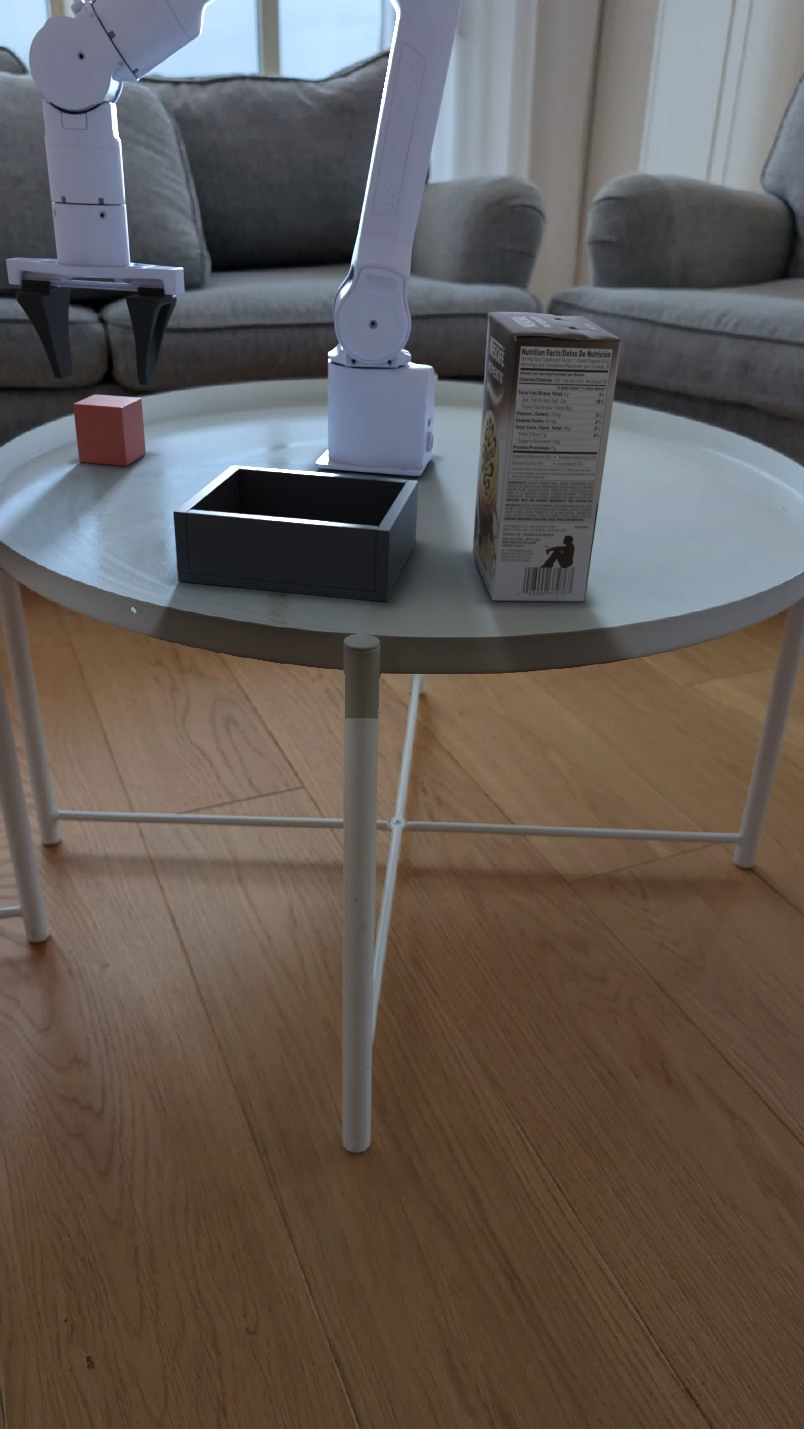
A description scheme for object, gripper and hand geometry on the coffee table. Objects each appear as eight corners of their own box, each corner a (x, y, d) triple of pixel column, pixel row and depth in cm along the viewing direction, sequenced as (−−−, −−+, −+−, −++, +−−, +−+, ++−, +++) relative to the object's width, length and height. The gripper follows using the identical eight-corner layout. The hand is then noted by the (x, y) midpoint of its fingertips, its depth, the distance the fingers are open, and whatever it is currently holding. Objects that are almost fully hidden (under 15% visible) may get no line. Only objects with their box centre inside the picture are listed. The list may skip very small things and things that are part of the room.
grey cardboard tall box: (468, 554, 72) (485, 310, 65) (557, 554, 73) (585, 313, 65) (488, 602, 64) (511, 331, 57) (589, 603, 65) (625, 334, 57)
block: (146, 454, 93) (141, 397, 91) (126, 466, 89) (121, 407, 87) (100, 450, 94) (94, 394, 91) (79, 462, 90) (72, 403, 88)
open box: (415, 543, 74) (418, 480, 72) (386, 602, 64) (389, 531, 62) (233, 527, 76) (231, 465, 74) (177, 581, 66) (172, 511, 63)
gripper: (-23, 200, 79) (2, 381, 86) (156, 209, 77) (168, 394, 84) (22, 198, 85) (42, 367, 92) (189, 207, 84) (198, 379, 90)
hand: (105, 379), depth 88 cm, fingers open, 7 cm apart
